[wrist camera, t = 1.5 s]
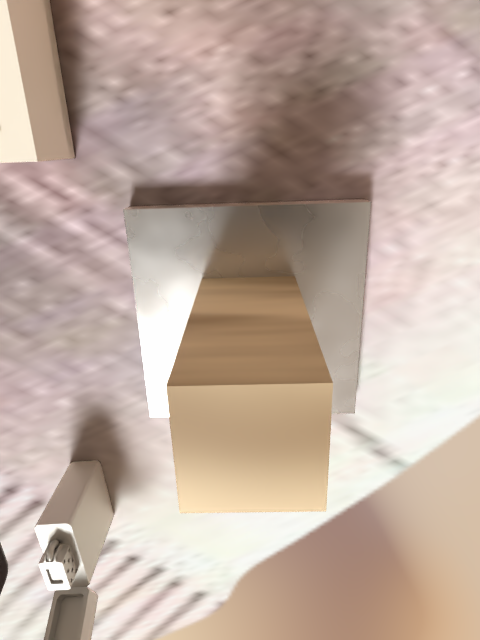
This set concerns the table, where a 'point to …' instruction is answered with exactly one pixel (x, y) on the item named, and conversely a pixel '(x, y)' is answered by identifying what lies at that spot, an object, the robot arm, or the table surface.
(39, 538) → the lighter
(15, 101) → the rectangular frame
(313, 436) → the strut
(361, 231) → the base plate
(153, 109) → the table surface
